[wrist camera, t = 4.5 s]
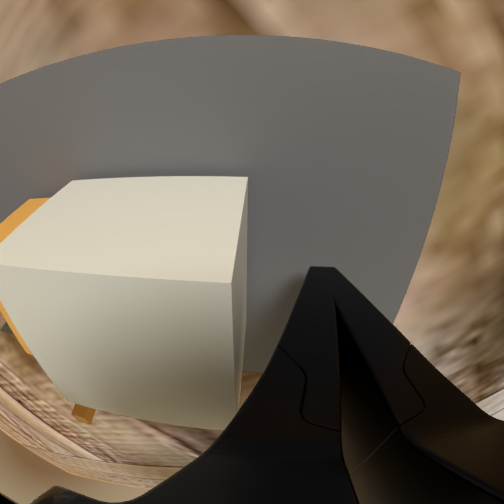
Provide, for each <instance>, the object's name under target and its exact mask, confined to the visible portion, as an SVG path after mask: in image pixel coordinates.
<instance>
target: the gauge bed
mask: <svg viewBox="0 0 504 504" xmlns="http://www.w3.org/2000/svg"><path fill="white" fill-rule="evenodd" d="M459 82H460V72H458V71H455V70H452V69H449V68H446V67H443V66H440V65H437V64H434V63H430V62H427V61H424V60H420V59H417V58H413V57H409V56H406V55H402V54H398V53H394V52H389V51H385V50H380V49H376V48H371V47H365V46H360V45H354V44H348V43H342V42H335V41H328V40H320V39H311V38H300V37H287V36H267V35H220V36H201V37H187V38H177V39H168V40H159V41H152V42H145V43H139V44H133V45H127V46H122V47H117V48H112V49H107V50H103V51H98V52H94V53H90V54H86V55H82V56H78V57H75V58H71V59H68V60H64V61H61V62H58V63H54V64H51V65H48V66H45V67H42V68H39V69H36V70H34V71H31V72H28V73H25V74H23V75H20V76H18V77H15V78H13V79H10V80H8V81H5V82H3V83H1V84H0V223H2V222H3V221H4V220H5V219H6V218H7V217H8V216H10V215H11V214H12V213H13V212H14V211H15V210H17V209H18V208H19V207H20V206H21V205H23V204H24V203H25V202H26V201H28V200H29V199H36V198H51V197H52V196H53V195H55V194H56V193H57V192H58V191H60V190H61V189H62V188H63V187H65V186H66V185H67V184H68V183H70V182H71V181H72V180H87V179H103V178H124V177H156V176H231V177H248V210H247V288H246V330H245V342H244V355H243V367H242V372H249V373H264V371H265V369H266V367H267V365H268V363H269V361H270V359H271V357H272V354H273V352H274V350H275V348H276V346H277V344H278V341H279V339H280V337H281V334H282V332H283V330H284V327H285V325H286V323H287V320H288V318H289V316H290V313H291V311H292V309H293V306H294V304H295V301H296V299H297V297H298V294H299V292H300V289H301V287H302V284H303V282H304V279H305V277H306V274H307V272H308V269H309V267H310V266H325V267H335V268H336V269H338V270H339V271H340V272H341V273H342V274H343V275H344V276H345V277H346V278H347V279H348V280H349V281H350V282H351V283H352V284H353V285H354V286H355V287H356V288H357V289H358V290H359V291H360V292H361V293H362V294H363V295H364V296H365V297H366V298H367V299H368V300H369V301H370V302H371V303H372V304H373V305H374V306H375V307H376V308H377V309H378V310H379V311H380V312H381V313H382V314H383V315H384V316H385V317H386V318H387V319H388V320H389V321H390V322H391V323H392V324H393V322H394V320H395V318H396V315H397V313H398V311H399V308H400V306H401V304H402V301H403V299H404V296H405V294H406V291H407V289H408V286H409V284H410V281H411V279H412V276H413V273H414V271H415V268H416V265H417V262H418V260H419V257H420V254H421V251H422V248H423V245H424V242H425V239H426V236H427V233H428V229H429V226H430V223H431V220H432V216H433V213H434V209H435V206H436V202H437V199H438V195H439V191H440V187H441V183H442V179H443V175H444V171H445V166H446V162H447V157H448V152H449V147H450V142H451V137H452V131H453V126H454V120H455V113H456V106H457V99H458V91H459ZM0 330H1V331H4V332H7V333H11V334H14V333H13V331H12V330H11V328H10V327H9V325H8V323H7V322H6V320H5V318H4V316H3V315H2V313H1V311H0Z"/></svg>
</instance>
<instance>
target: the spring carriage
mask: <svg viewBox="0 0 504 504" xmlns="http://www.w3.org/2000/svg"><path fill="white" fill-rule="evenodd" d="M247 210H248V177H231V176H156V177H124V178H103V179H87V180H72V181H71V182H70V183H68V184H67V185H66V186H65V187H63V188H62V189H61V190H60V191H58V192H57V193H56V194H55V195H53V196H52V197H51V198H50V199H49V200H47V201H46V202H45V203H44V204H43V205H42V206H40V207H39V208H38V209H37V210H36V211H35V212H33V213H32V214H31V215H30V216H29V217H28V218H27V219H26V220H25V221H23V222H22V223H21V224H20V225H19V226H18V227H17V228H16V229H15V230H14V231H13V232H12V233H11V234H10V235H8V236H7V237H6V238H5V239H4V240H3V241H2V242H1V243H0V301H1V303H2V305H3V306H4V308H5V310H6V312H7V314H8V315H9V317H10V319H11V321H12V322H13V324H14V326H15V327H16V329H17V331H18V332H19V334H20V336H21V337H22V339H23V340H24V342H25V343H26V345H27V347H28V348H29V350H30V351H31V353H32V354H33V356H34V357H35V359H36V360H37V361H38V363H39V364H40V366H41V367H42V368H43V370H44V371H45V373H46V374H47V375H48V377H49V378H50V379H51V381H52V382H53V383H54V385H55V386H56V387H57V389H58V390H59V391H60V392H61V394H62V395H63V396H64V397H65V399H66V400H67V401H68V402H72V403H75V404H78V405H82V406H86V407H89V408H93V409H97V410H101V411H105V412H109V413H113V414H117V415H122V416H126V417H131V418H136V419H141V420H146V421H152V422H158V423H164V424H170V425H177V426H184V427H192V428H200V429H210V430H221V431H224V430H225V428H226V427H227V426H228V424H229V423H230V422H231V420H232V419H233V418H234V416H235V415H236V413H237V412H238V411H239V404H240V392H241V380H242V367H243V355H244V342H245V330H246V288H247Z"/></svg>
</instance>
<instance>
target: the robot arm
mask: <svg viewBox="0 0 504 504" xmlns="http://www.w3.org/2000/svg"><path fill="white" fill-rule="evenodd" d="M0 504H18V503H17V502H15V501H13V500H12V499H10V498H9V497H7V496H5V495H4V494H2V493H1V492H0ZM31 504H504V421H502V420H499V419H496V418H494V417H492V416H490V415H488V414H487V413H485V412H484V411H483V410H482V409H480V408H479V407H478V406H477V405H476V404H475V403H474V402H473V401H471V400H470V399H469V398H468V397H467V396H466V395H465V394H464V393H463V392H461V391H460V390H459V389H458V388H457V387H456V386H455V385H454V384H452V383H451V382H450V381H449V380H448V379H447V378H446V377H445V376H444V375H443V374H442V373H440V372H439V371H438V370H437V369H436V368H435V367H434V366H433V365H432V364H431V363H430V362H429V361H428V360H427V359H426V358H425V357H424V356H423V355H422V354H421V353H420V352H419V351H418V350H417V349H416V348H415V347H414V346H413V345H412V344H411V345H410V342H409V340H408V339H407V338H406V337H405V336H404V335H403V334H402V333H401V332H400V331H399V330H398V329H397V328H396V327H395V326H394V325H393V324H392V323H391V322H390V321H389V320H388V319H387V318H386V317H385V316H384V315H383V314H382V313H381V312H380V311H379V310H378V309H377V308H376V307H375V306H374V305H373V304H372V303H371V302H370V301H369V300H368V299H367V298H366V297H365V296H364V295H363V294H362V293H361V292H360V291H359V290H358V289H357V288H356V287H355V286H354V285H353V284H352V283H351V282H350V281H349V280H348V279H347V278H346V277H345V276H344V275H343V274H342V273H341V272H340V271H339V270H338V269H336V268H335V267H325V266H310V267H309V269H308V272H307V274H306V277H305V279H304V282H303V284H302V287H301V289H300V292H299V294H298V297H297V299H296V301H295V304H294V306H293V309H292V311H291V313H290V316H289V318H288V320H287V323H286V325H285V327H284V330H283V332H282V334H281V337H280V339H279V341H278V344H277V346H276V348H275V350H274V352H273V354H272V357H271V359H270V361H269V363H268V365H267V367H266V369H265V371H264V373H263V375H262V376H261V378H260V380H259V381H258V383H257V384H256V386H255V388H254V389H253V391H252V392H251V394H250V395H249V397H248V398H247V399H246V401H245V402H244V404H243V405H242V406H241V408H240V409H239V411H238V412H237V413H236V415H235V416H234V418H233V419H232V420H231V422H230V423H229V424H228V426H227V427H226V428H225V430H224V431H223V432H222V434H221V435H220V436H219V437H218V438H217V440H216V441H215V442H214V443H213V444H212V445H211V446H210V447H209V448H208V449H207V450H206V451H205V452H204V453H203V454H202V455H201V456H199V457H198V458H196V459H195V460H194V461H192V462H191V463H190V464H188V465H187V466H185V467H184V468H182V469H181V470H180V471H178V472H177V473H175V474H174V475H172V476H171V477H169V478H168V479H166V480H165V481H163V482H162V483H160V484H159V485H157V486H156V487H154V488H152V489H151V490H149V491H148V492H146V493H145V494H143V495H141V496H139V497H137V498H135V499H133V500H130V501H125V502H120V503H108V502H103V501H99V500H96V499H93V498H90V497H87V496H85V495H82V494H79V493H76V492H74V491H72V490H69V489H66V488H63V487H59V486H53V487H51V488H50V489H49V490H47V491H46V492H45V493H43V494H42V495H41V496H39V497H38V498H37V499H35V500H34V501H33V502H32V503H31Z"/></svg>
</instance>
